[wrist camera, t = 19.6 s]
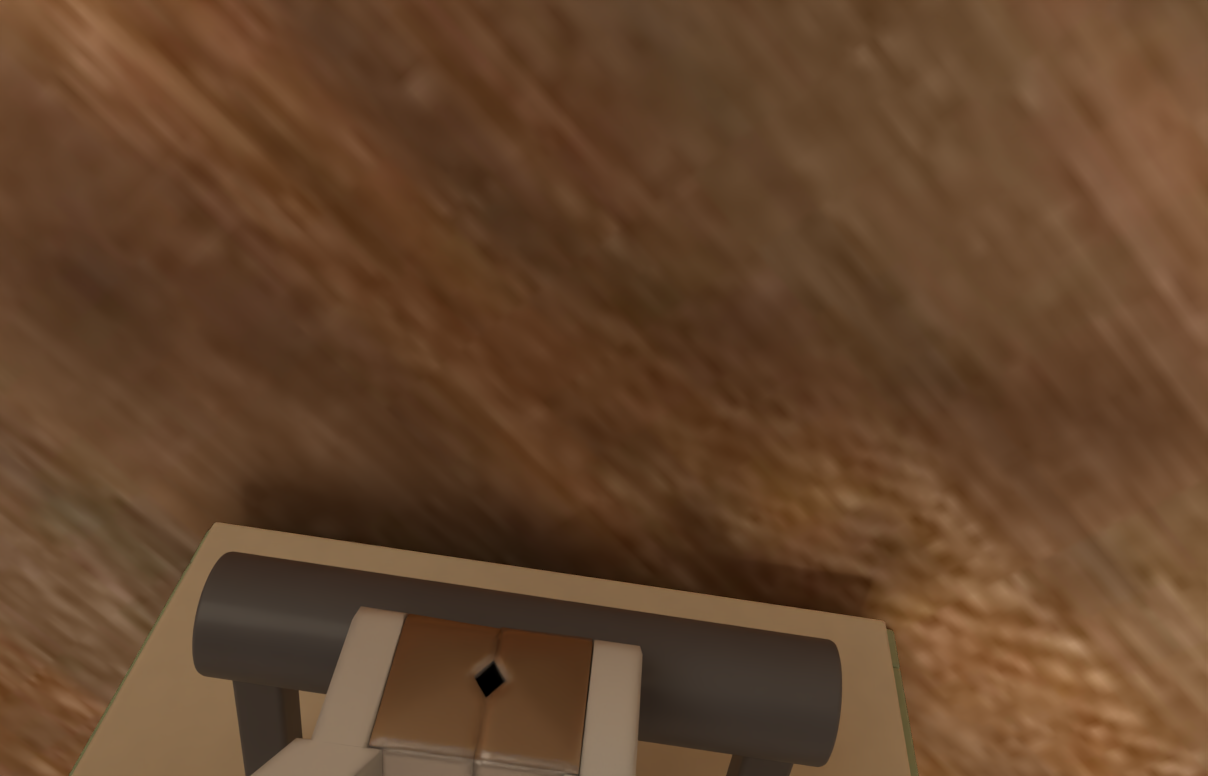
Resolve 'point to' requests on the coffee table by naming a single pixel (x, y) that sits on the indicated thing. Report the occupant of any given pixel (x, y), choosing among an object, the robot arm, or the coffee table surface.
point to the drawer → (500, 599)
